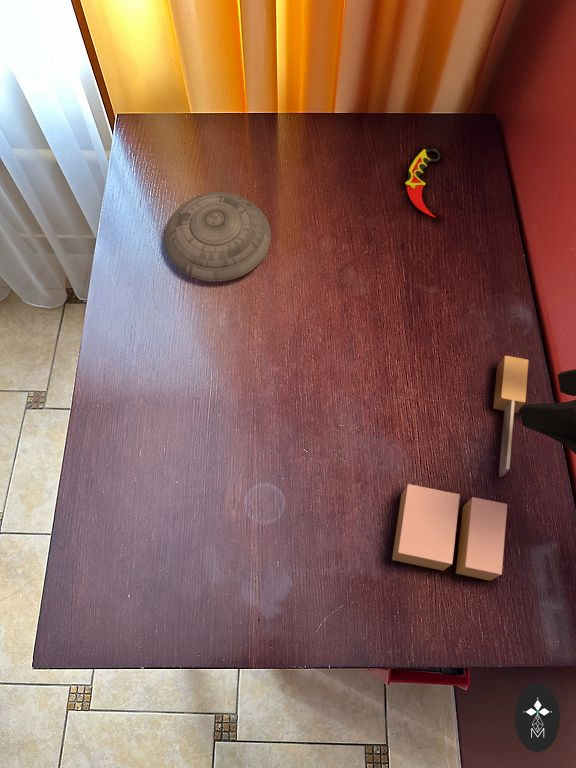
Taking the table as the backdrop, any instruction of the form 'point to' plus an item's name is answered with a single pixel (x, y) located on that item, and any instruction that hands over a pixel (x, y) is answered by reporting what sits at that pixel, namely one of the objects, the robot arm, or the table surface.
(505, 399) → the chisel
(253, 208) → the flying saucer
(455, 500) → the pink rectangular block
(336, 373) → the table surface
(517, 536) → the table surface
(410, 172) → the knife
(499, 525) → the light tan rectangular block
